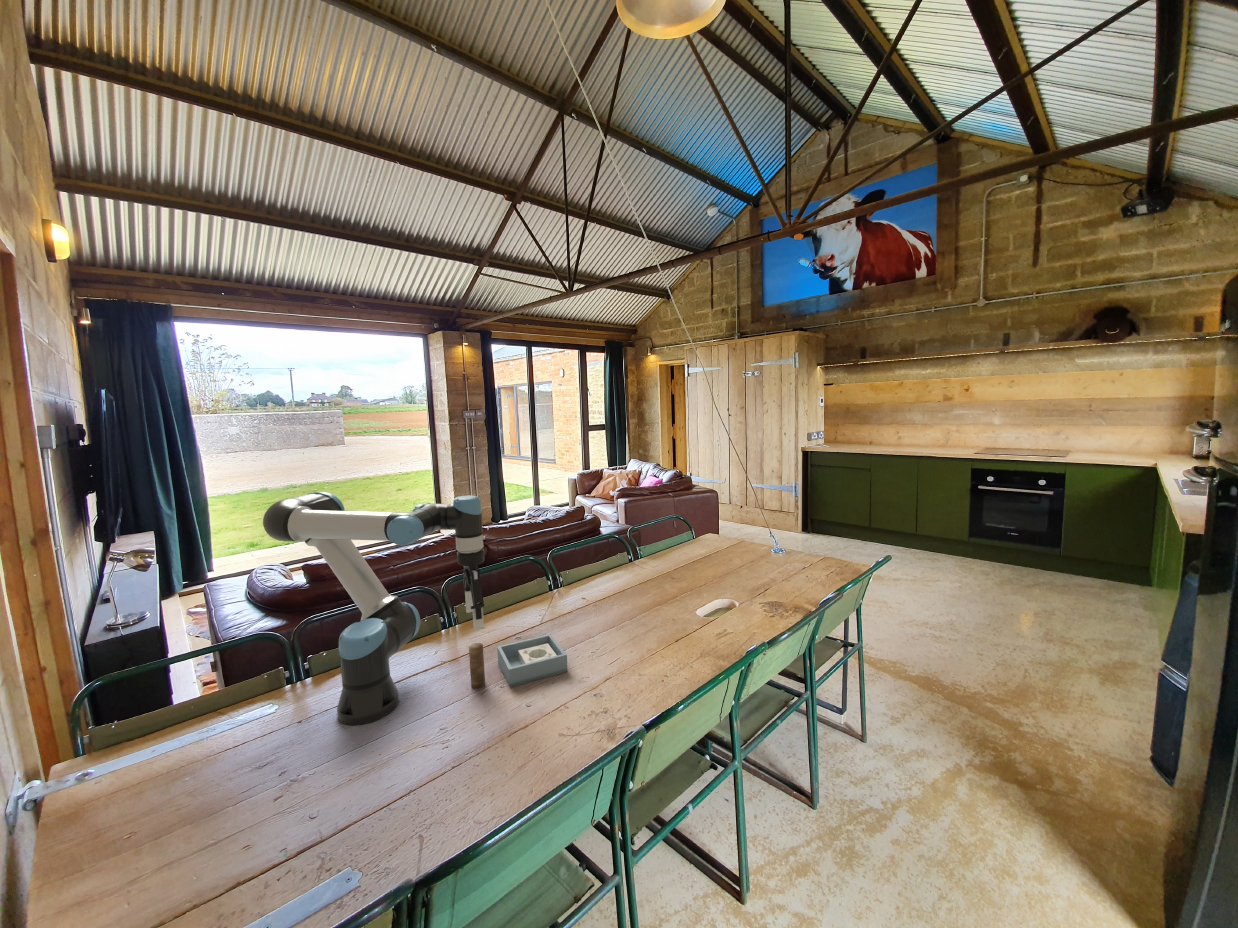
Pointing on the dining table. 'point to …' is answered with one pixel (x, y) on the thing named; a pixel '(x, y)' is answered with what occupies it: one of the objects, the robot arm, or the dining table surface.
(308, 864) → the dining table surface
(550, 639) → the box
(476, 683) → the peg
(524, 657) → the plate
